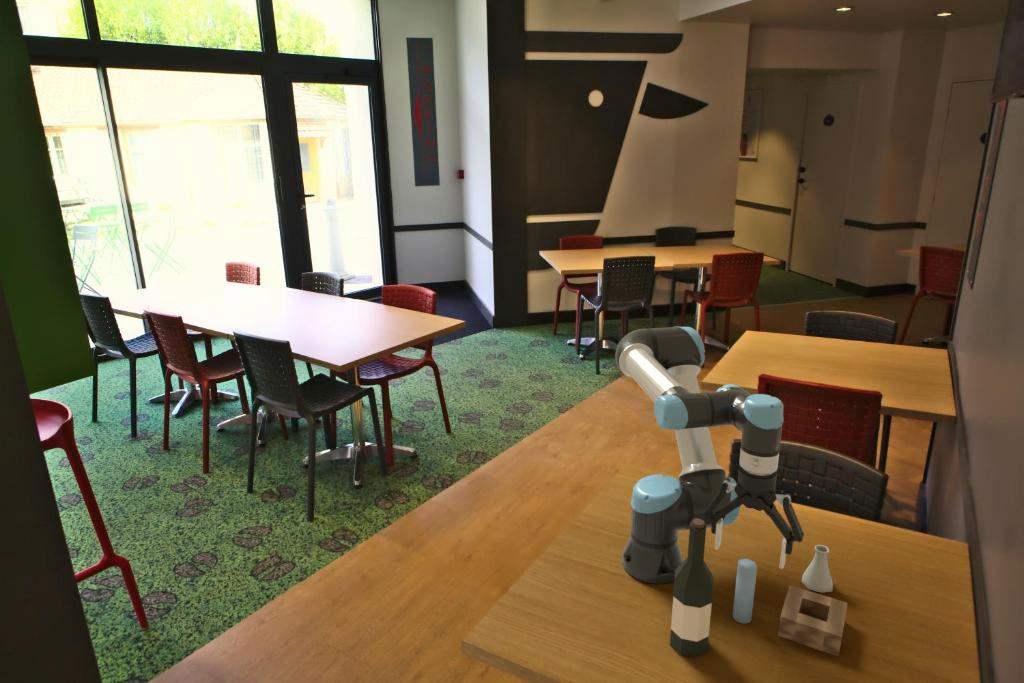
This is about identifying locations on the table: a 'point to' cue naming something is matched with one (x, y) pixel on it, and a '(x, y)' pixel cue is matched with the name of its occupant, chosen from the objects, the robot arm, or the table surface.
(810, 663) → the table surface
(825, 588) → the flask
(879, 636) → the table surface
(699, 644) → the wine bottle
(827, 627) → the bore block
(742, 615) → the dowel
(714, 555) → the table surface
